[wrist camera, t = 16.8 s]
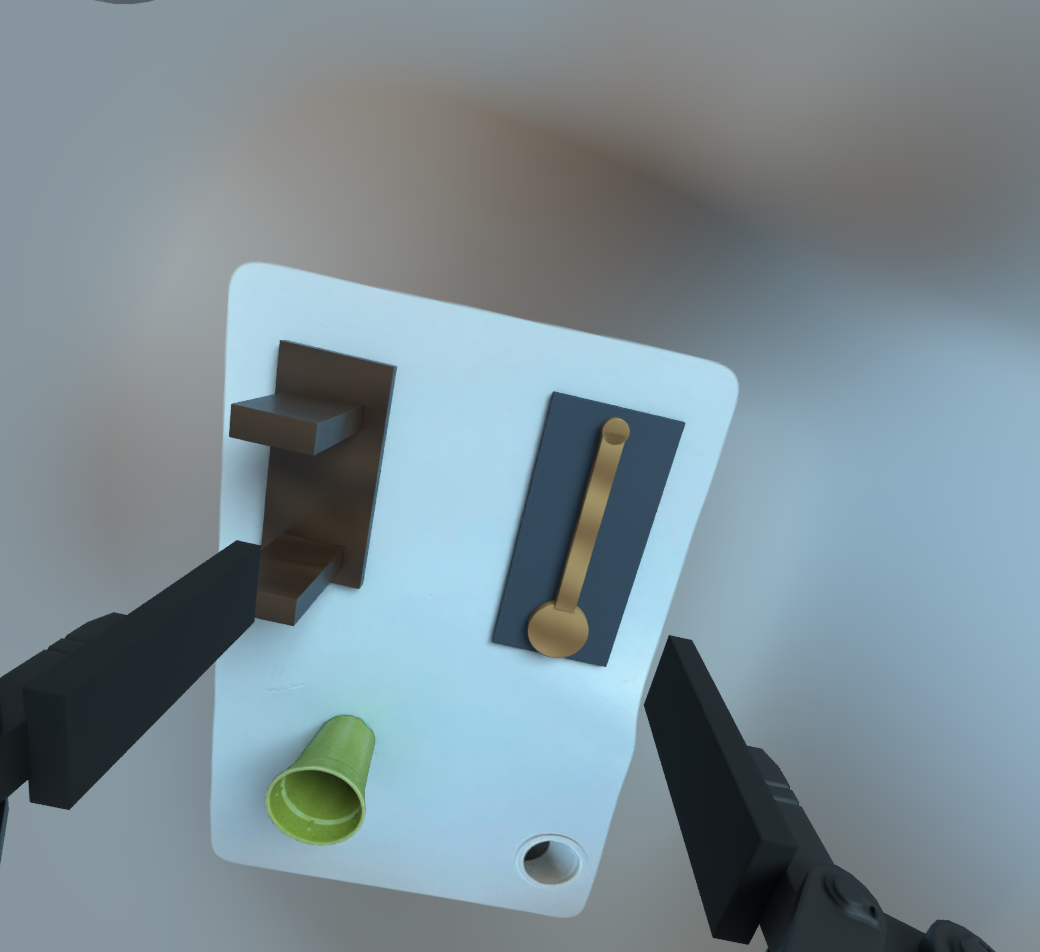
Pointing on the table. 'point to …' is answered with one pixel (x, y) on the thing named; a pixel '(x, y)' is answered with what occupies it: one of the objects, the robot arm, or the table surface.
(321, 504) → the rack
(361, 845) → the table surface
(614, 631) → the mat
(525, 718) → the table surface
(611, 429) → the ladle
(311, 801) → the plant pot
